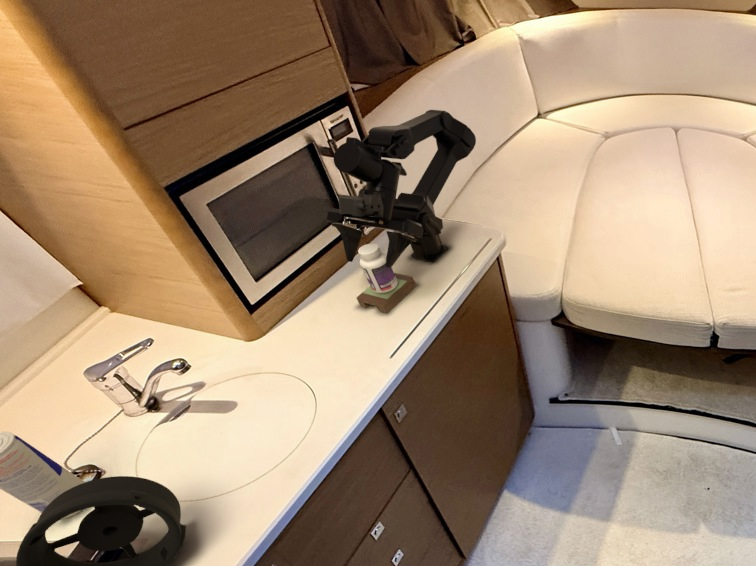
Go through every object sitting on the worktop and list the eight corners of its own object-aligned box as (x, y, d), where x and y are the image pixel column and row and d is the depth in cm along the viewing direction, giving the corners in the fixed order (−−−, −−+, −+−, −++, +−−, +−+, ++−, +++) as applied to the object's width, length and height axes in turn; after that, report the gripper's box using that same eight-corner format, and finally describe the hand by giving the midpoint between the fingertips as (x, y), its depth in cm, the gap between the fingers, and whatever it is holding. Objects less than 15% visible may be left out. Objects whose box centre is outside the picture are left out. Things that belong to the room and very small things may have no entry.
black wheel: (78, 447, 67) (59, 488, 60) (208, 475, 77) (205, 513, 69) (13, 542, 66) (-15, 595, 59) (152, 559, 76) (144, 606, 69)
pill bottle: (401, 278, 113) (386, 241, 107) (393, 294, 110) (376, 256, 103) (377, 278, 113) (360, 241, 107) (368, 294, 110) (349, 256, 103)
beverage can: (106, 488, 80) (24, 431, 69) (74, 522, 76) (-18, 467, 65) (73, 485, 80) (-13, 428, 70) (40, 519, 76) (-57, 464, 66)
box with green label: (391, 279, 117) (387, 270, 116) (416, 285, 116) (412, 276, 114) (360, 306, 111) (355, 297, 109) (387, 313, 109) (382, 304, 107)
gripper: (310, 171, 99) (297, 250, 99) (395, 181, 96) (381, 263, 96) (353, 189, 110) (341, 261, 110) (430, 199, 107) (417, 273, 107)
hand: (368, 264), depth 106 cm, fingers open, 9 cm apart
